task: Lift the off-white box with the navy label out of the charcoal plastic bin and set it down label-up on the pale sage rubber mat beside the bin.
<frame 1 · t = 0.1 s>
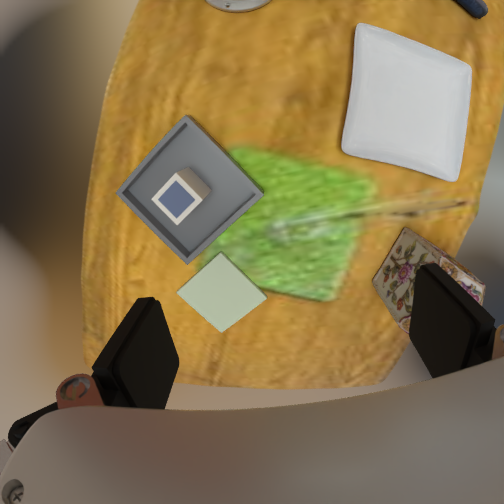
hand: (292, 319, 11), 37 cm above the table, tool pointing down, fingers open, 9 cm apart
decorative jar: (409, 266, 50), on the table
bin: (189, 189, 46), on the table
labelled box: (188, 189, 46), point 1 cm above the table, touching bin
salad plate: (406, 103, 40), on the table
mat: (221, 293, 53), on the table
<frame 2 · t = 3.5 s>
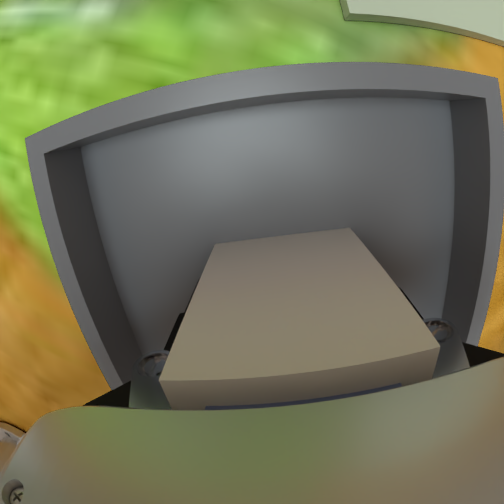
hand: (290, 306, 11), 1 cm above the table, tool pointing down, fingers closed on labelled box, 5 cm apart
bin: (288, 288, 13), on the table
labelled box: (289, 295, 12), point 1 cm above the table, touching bin, gripper
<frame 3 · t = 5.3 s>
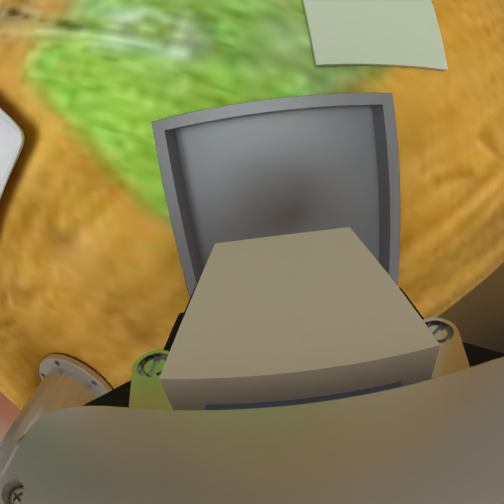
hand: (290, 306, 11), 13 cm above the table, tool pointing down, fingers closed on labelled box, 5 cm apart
bin: (286, 208, 23), on the table
labelled box: (289, 295, 12), point 12 cm above the table, touching gripper
mat: (371, 5, 16), on the table
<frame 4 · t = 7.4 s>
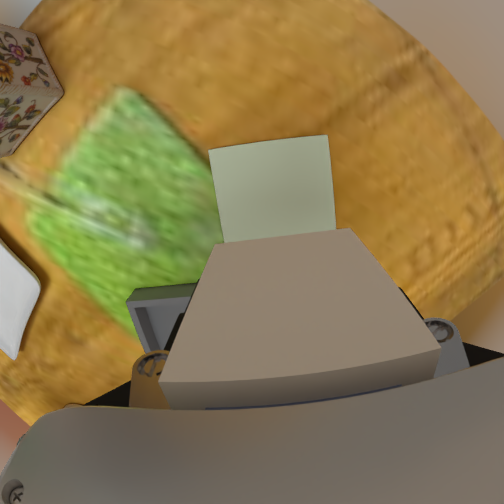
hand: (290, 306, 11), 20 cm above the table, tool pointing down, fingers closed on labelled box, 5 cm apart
decorative jar: (22, 92, 25), on the table
bin: (215, 341, 36), on the table
labelled box: (289, 296, 12), point 19 cm above the table, touching gripper
mat: (275, 197, 29), on the table
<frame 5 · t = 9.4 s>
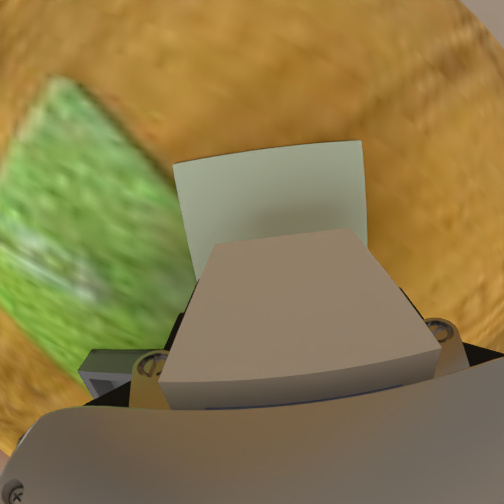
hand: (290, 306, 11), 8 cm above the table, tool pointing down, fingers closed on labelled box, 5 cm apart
bin: (198, 413, 26), on the table
labelled box: (289, 295, 12), point 8 cm above the table, touching gripper
mat: (278, 237, 19), on the table
when the fingers open (3 cm above the table, at t = 11.3 s): labelled box drops 1 cm, resting on mat.
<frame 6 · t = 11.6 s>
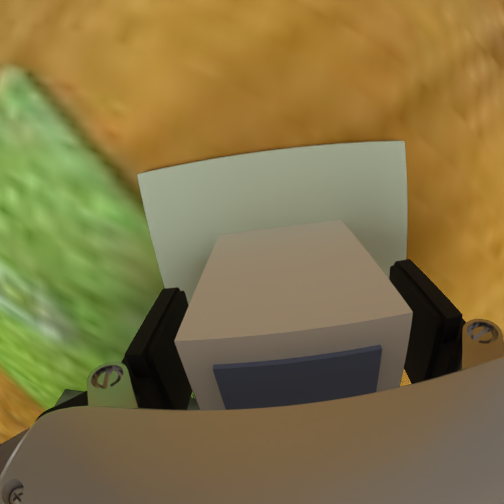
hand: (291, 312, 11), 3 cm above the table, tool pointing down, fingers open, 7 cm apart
labelled box: (286, 282, 13), point 1 cm above the table, touching mat
mat: (286, 273, 14), on the table
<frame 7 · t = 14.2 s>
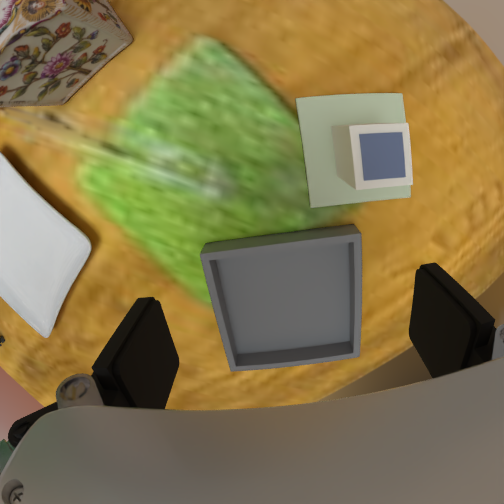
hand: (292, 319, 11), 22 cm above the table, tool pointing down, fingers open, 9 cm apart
decorative jar: (79, 42, 25), on the table
bin: (288, 298, 35), on the table
labelled box: (358, 149, 28), point 1 cm above the table, touching mat
salad plate: (26, 242, 35), on the table
mat: (356, 147, 29), on the table
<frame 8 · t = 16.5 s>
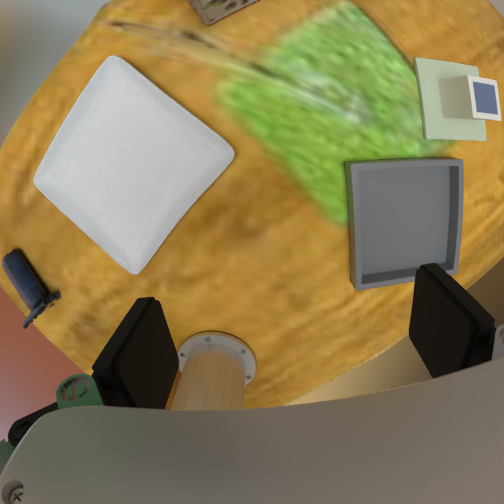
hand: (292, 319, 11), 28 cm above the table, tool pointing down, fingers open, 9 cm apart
bin: (404, 218, 37), on the table
labelled box: (454, 100, 30), point 1 cm above the table, touching mat
salad plate: (127, 162, 37), on the table
mat: (452, 100, 31), on the table
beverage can: (35, 276, 44), on the table
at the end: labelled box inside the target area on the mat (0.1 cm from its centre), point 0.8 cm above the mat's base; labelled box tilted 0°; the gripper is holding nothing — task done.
